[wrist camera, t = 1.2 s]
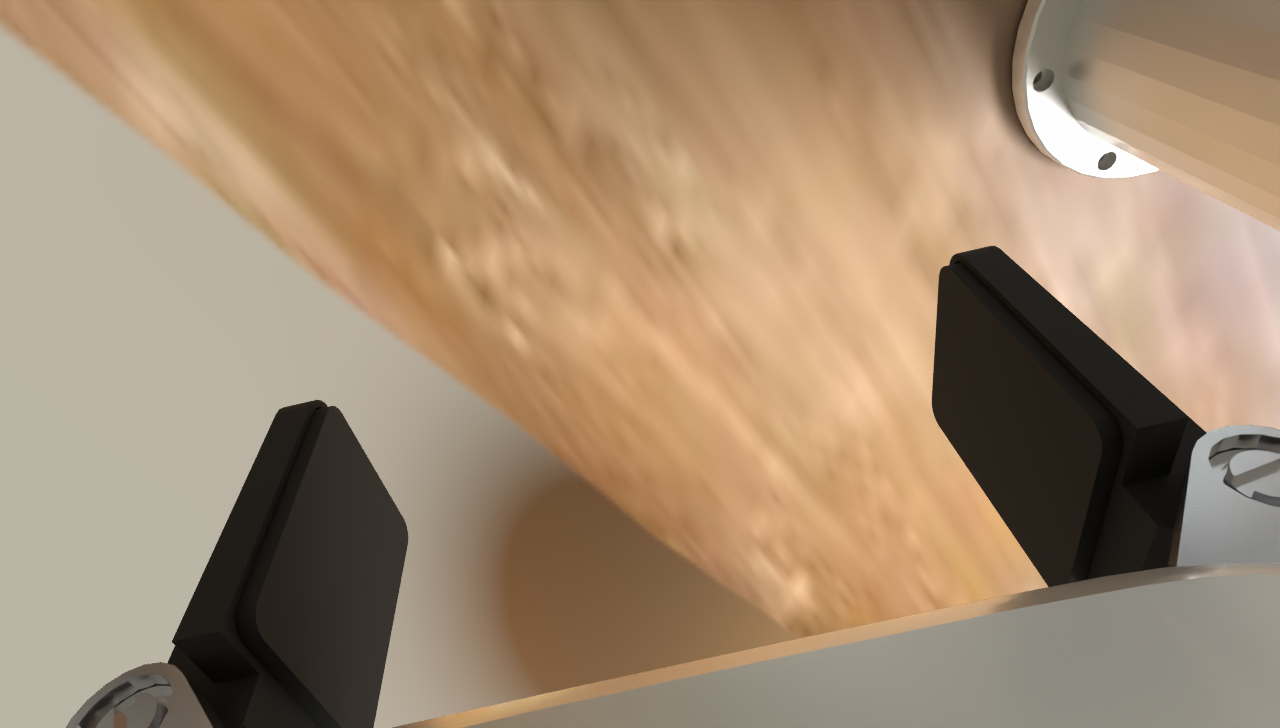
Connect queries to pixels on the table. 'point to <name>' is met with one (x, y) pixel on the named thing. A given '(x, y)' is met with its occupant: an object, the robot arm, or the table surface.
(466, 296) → the table surface
